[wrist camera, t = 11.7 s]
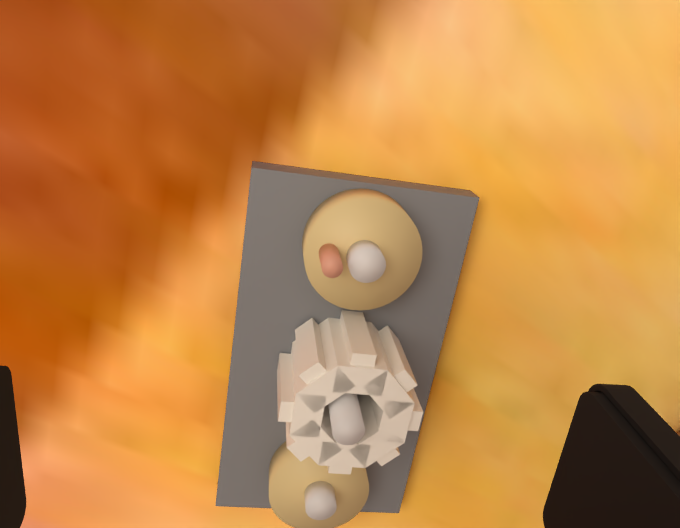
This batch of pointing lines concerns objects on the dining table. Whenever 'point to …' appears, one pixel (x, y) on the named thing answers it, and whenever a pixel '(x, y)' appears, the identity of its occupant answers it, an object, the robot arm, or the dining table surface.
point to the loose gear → (346, 391)
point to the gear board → (327, 302)
